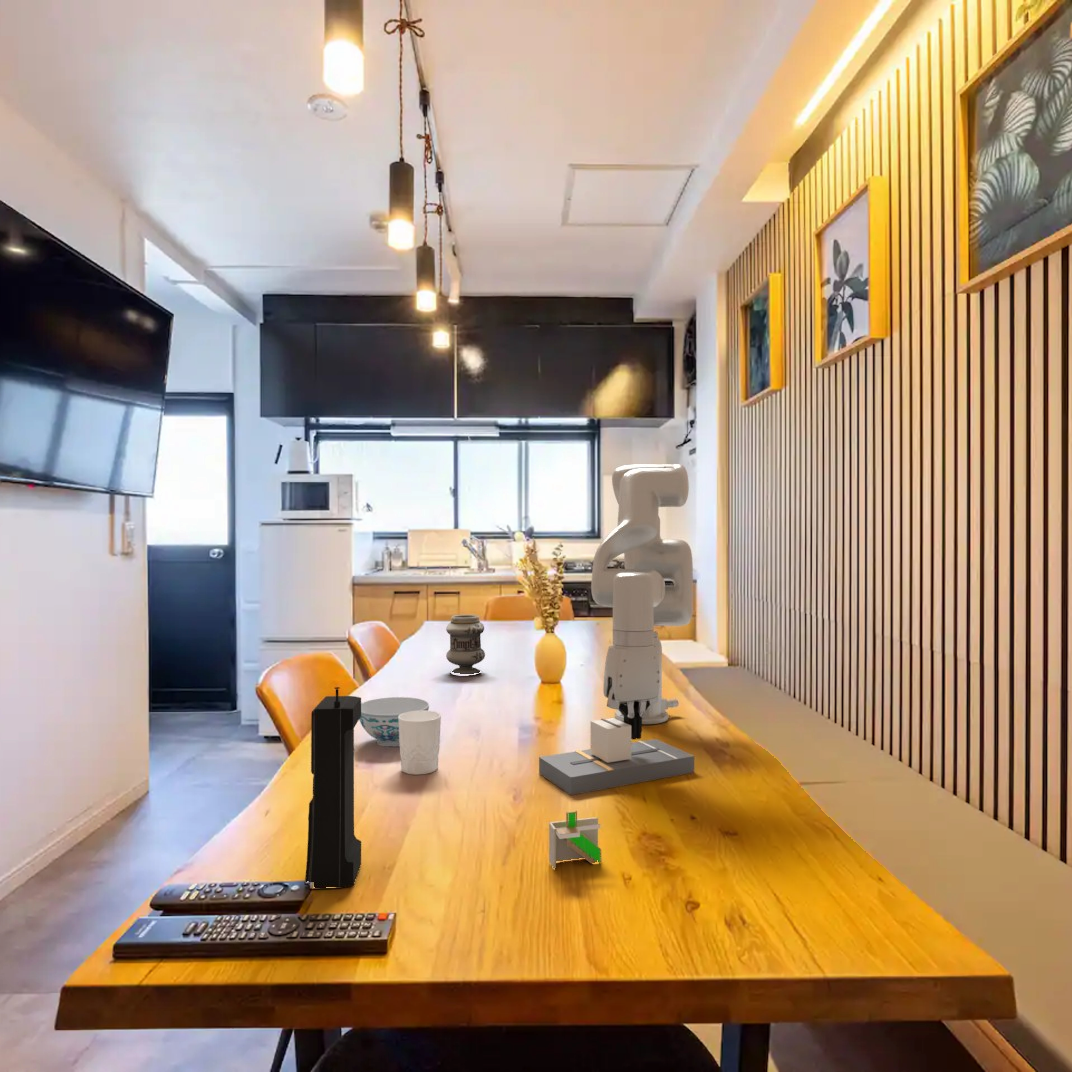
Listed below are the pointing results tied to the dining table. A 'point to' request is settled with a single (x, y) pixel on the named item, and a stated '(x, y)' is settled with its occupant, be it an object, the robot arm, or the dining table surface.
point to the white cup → (419, 741)
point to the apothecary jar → (465, 643)
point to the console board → (615, 767)
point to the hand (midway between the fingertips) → (632, 737)
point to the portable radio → (333, 794)
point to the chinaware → (387, 717)
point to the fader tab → (611, 740)
